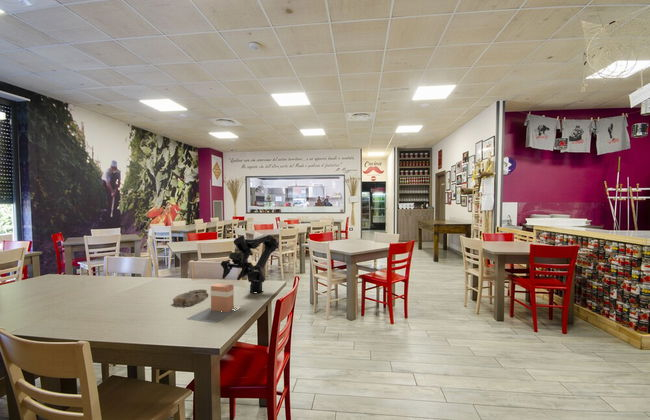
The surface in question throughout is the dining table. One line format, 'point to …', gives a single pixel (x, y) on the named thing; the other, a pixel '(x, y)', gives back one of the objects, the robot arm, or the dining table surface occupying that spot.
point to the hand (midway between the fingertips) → (230, 279)
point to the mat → (211, 315)
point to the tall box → (222, 297)
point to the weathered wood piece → (190, 297)
